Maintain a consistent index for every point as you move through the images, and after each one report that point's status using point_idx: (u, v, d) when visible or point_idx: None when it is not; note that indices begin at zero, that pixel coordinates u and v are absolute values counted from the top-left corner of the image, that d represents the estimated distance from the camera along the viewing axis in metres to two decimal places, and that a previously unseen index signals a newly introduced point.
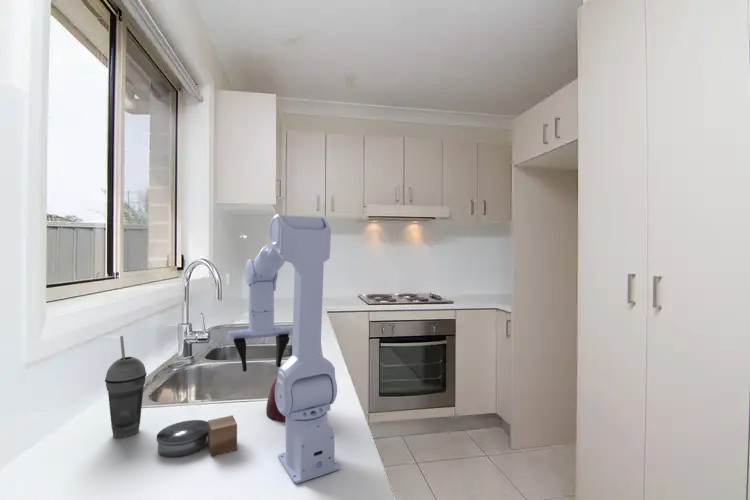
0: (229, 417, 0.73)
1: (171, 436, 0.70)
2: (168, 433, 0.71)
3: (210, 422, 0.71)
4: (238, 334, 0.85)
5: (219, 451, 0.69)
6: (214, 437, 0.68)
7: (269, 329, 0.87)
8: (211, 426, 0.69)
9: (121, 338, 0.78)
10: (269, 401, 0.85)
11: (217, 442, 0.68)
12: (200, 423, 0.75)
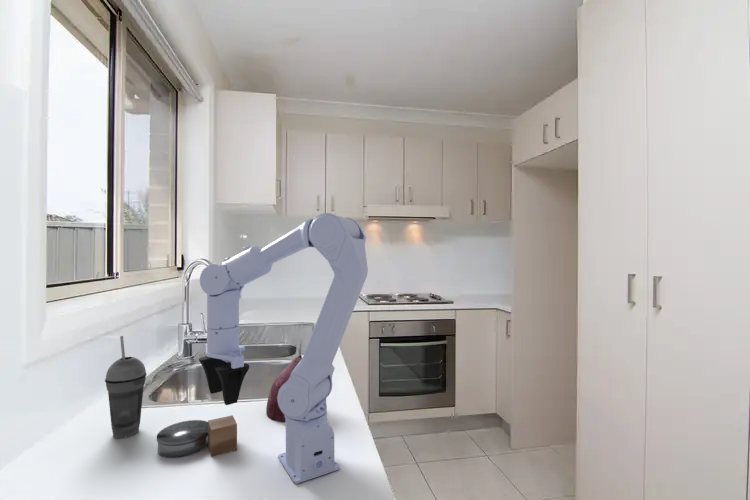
0: (229, 417, 0.73)
1: (171, 436, 0.70)
2: (168, 433, 0.71)
3: (210, 422, 0.71)
4: (206, 348, 0.75)
5: (219, 451, 0.69)
6: (214, 437, 0.68)
7: (212, 351, 0.69)
8: (211, 426, 0.69)
9: (121, 338, 0.78)
10: (269, 401, 0.85)
11: (217, 442, 0.68)
12: (200, 423, 0.75)
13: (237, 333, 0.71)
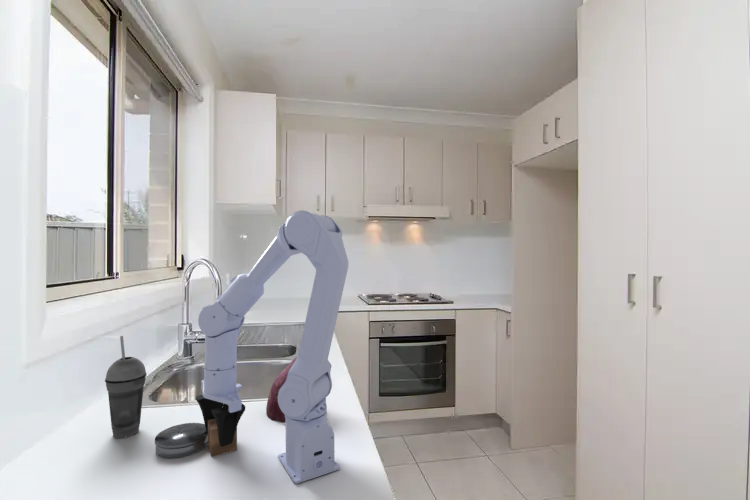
0: None
1: (169, 439, 0.70)
2: (166, 435, 0.71)
3: (210, 422, 0.71)
4: (203, 385, 0.74)
5: (219, 451, 0.69)
6: (214, 437, 0.68)
7: (210, 393, 0.68)
8: (211, 426, 0.69)
9: (121, 338, 0.78)
10: (269, 401, 0.85)
11: (217, 442, 0.68)
12: (198, 426, 0.75)
13: (235, 373, 0.71)
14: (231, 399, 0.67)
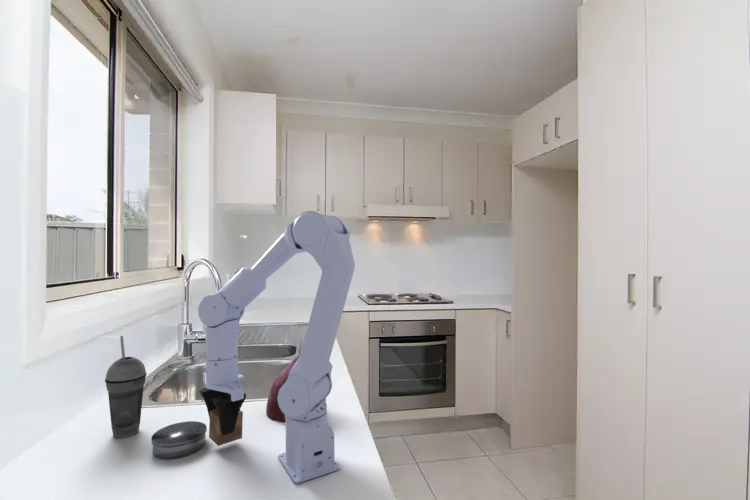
0: None
1: (166, 438, 0.69)
2: (163, 434, 0.71)
3: (213, 412, 0.71)
4: (205, 377, 0.74)
5: (226, 439, 0.69)
6: None
7: (212, 383, 0.68)
8: (217, 415, 0.69)
9: (121, 338, 0.78)
10: (269, 401, 0.85)
11: None
12: (195, 424, 0.75)
13: (236, 363, 0.71)
14: (233, 388, 0.67)
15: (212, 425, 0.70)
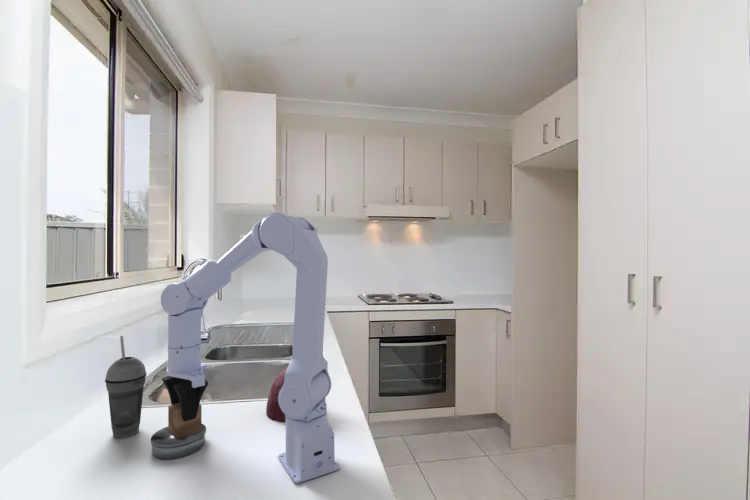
0: None
1: (165, 438, 0.69)
2: (162, 435, 0.71)
3: (172, 406, 0.72)
4: None
5: (184, 433, 0.70)
6: (179, 419, 0.69)
7: (173, 371, 0.70)
8: (175, 409, 0.70)
9: (121, 338, 0.78)
10: (269, 401, 0.85)
11: (182, 424, 0.70)
12: None
13: (199, 351, 0.72)
14: (194, 375, 0.68)
15: (170, 419, 0.71)
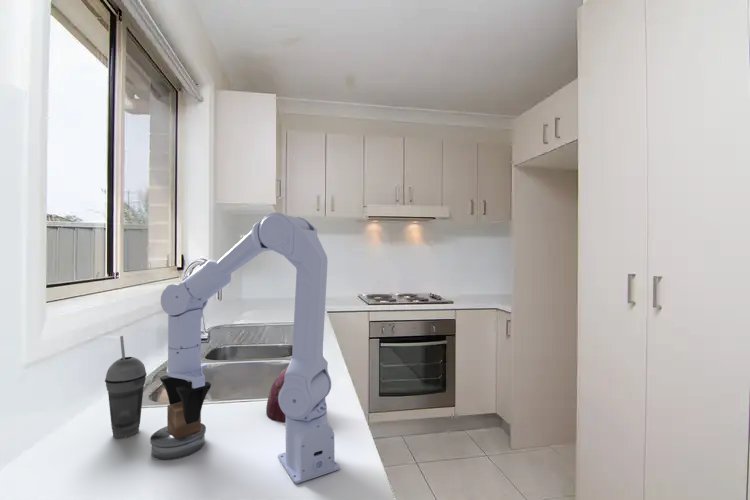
0: None
1: (165, 438, 0.69)
2: (162, 435, 0.71)
3: (171, 406, 0.72)
4: None
5: (183, 432, 0.70)
6: (178, 419, 0.69)
7: (173, 371, 0.70)
8: (174, 409, 0.70)
9: (121, 338, 0.78)
10: (269, 401, 0.85)
11: (181, 423, 0.70)
12: None
13: (199, 352, 0.72)
14: (194, 376, 0.68)
15: (170, 419, 0.71)
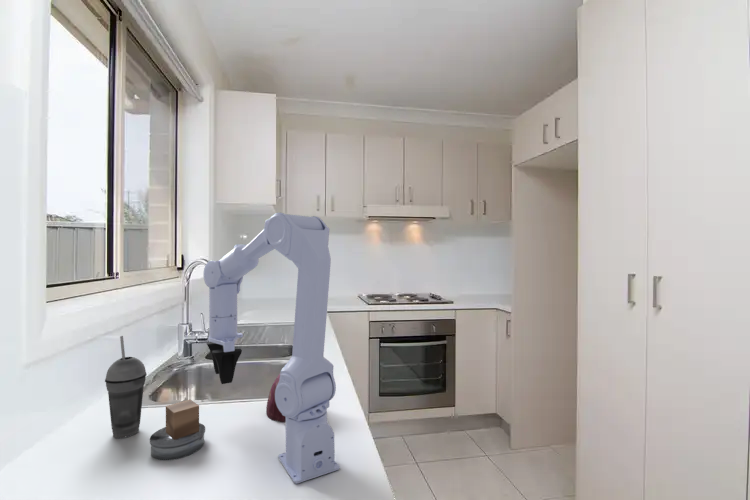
0: (187, 401, 0.74)
1: (165, 439, 0.69)
2: (161, 435, 0.70)
3: (169, 407, 0.71)
4: None
5: (182, 433, 0.70)
6: (177, 420, 0.69)
7: (212, 337, 0.79)
8: (172, 410, 0.70)
9: (121, 338, 0.78)
10: (269, 401, 0.85)
11: (179, 424, 0.70)
12: None
13: (234, 322, 0.81)
14: (227, 341, 0.77)
15: (168, 420, 0.71)
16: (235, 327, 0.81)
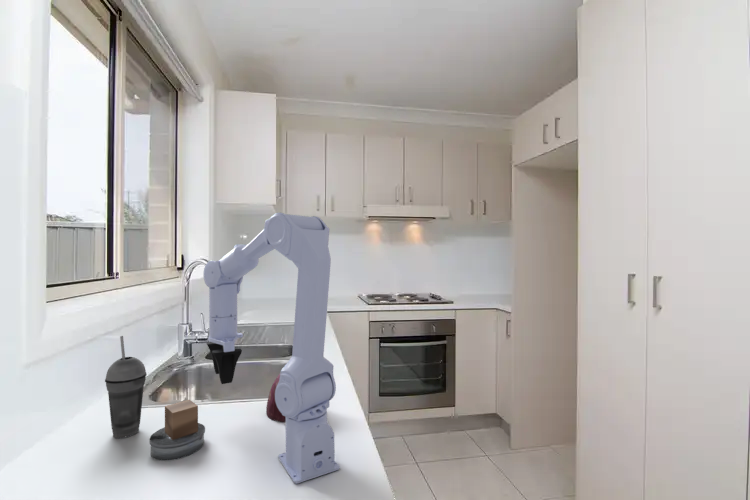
0: (187, 401, 0.74)
1: (164, 439, 0.69)
2: (161, 435, 0.70)
3: (168, 407, 0.71)
4: None
5: (180, 433, 0.70)
6: (175, 420, 0.69)
7: (212, 337, 0.79)
8: (171, 410, 0.70)
9: (121, 338, 0.78)
10: (269, 401, 0.85)
11: (178, 425, 0.69)
12: None
13: (234, 322, 0.81)
14: (227, 341, 0.77)
15: (167, 420, 0.71)
16: (235, 327, 0.81)
